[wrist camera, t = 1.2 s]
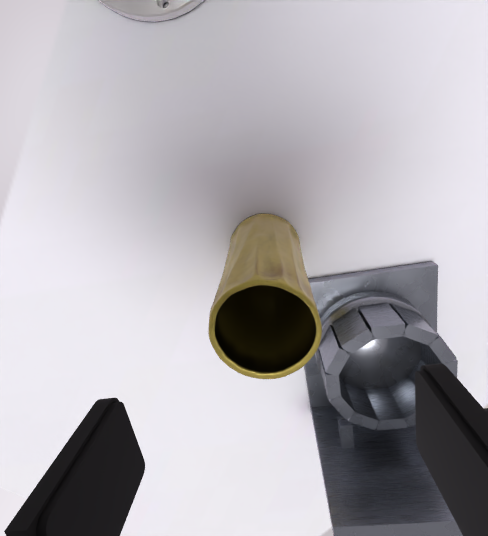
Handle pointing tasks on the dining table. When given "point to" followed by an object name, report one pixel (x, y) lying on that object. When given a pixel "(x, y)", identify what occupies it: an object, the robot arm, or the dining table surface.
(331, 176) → the dining table surface
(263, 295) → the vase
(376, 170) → the dining table surface
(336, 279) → the cup bracket
